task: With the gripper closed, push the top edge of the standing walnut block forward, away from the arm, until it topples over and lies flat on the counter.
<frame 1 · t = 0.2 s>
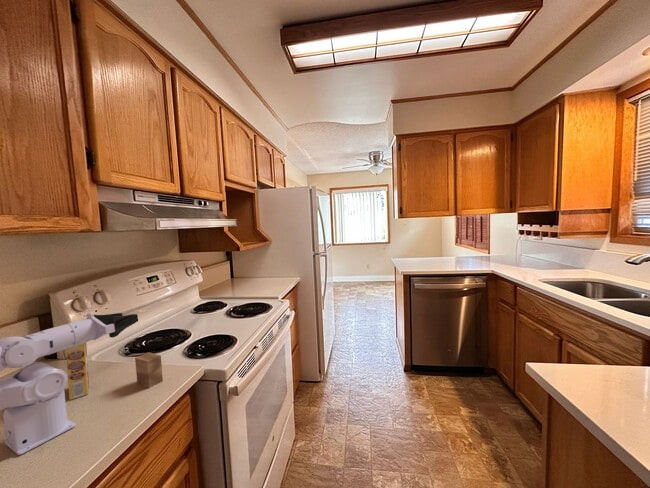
hand: (129, 317, 80), 21 cm above the table, tool horizontal, fingers open, 7 cm apart
candy box: (80, 391, 81), on the table
walnut block: (150, 382, 84), on the table
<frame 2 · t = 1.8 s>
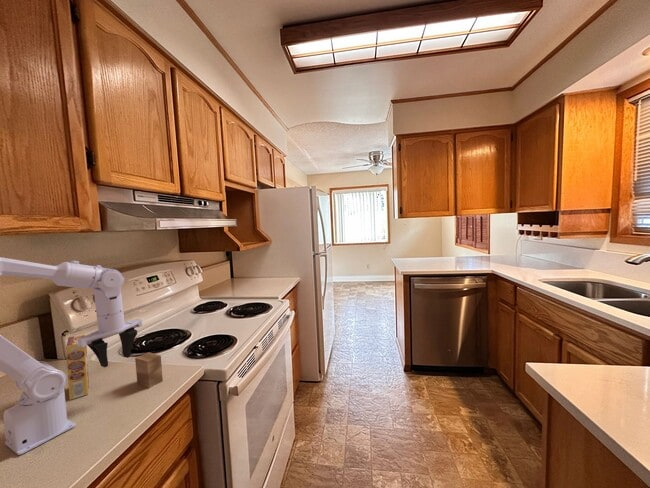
hand: (116, 361, 76), 10 cm above the table, tool pointing down, fingers open, 5 cm apart
nothing on the table moved.
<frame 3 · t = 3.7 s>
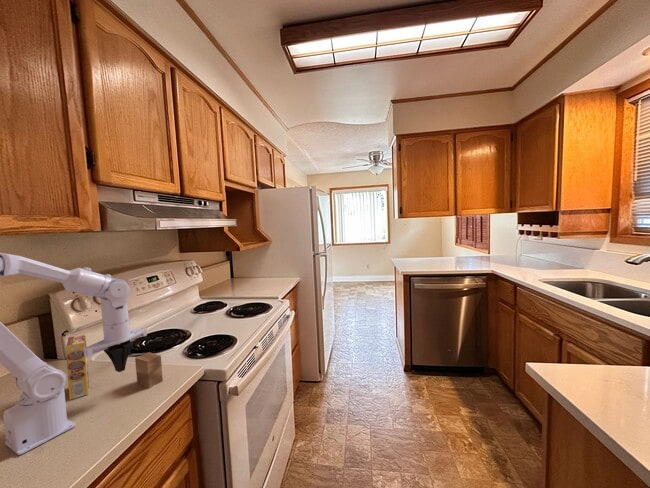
hand: (120, 370, 77), 7 cm above the table, tool pointing down, fingers closed
nothing on the table moved.
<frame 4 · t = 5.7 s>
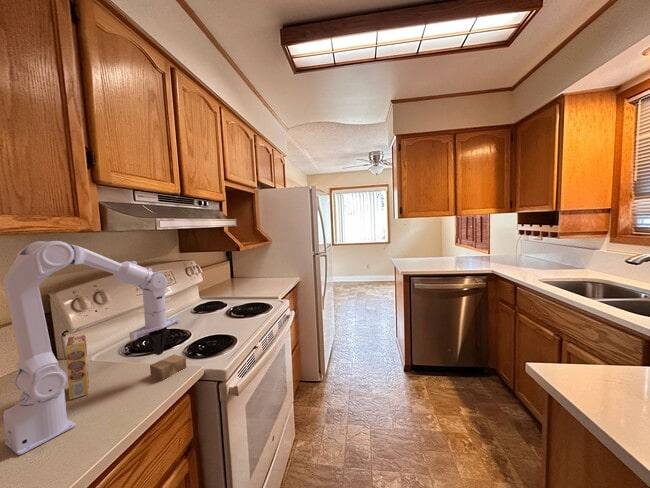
hand: (158, 353, 86), 7 cm above the table, tool pointing down, fingers closed
walnut block: (156, 373, 86), point 2 cm above the table, tilted 90°
everything else where it was.
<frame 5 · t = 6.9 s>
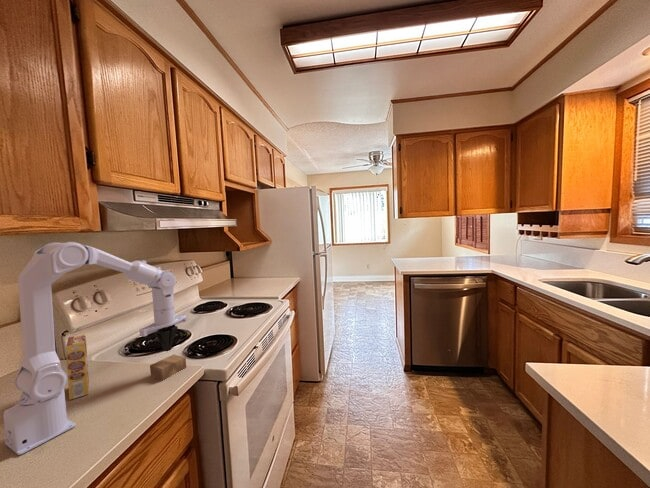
hand: (167, 350, 89), 7 cm above the table, tool pointing down, fingers closed
nothing on the table moved.
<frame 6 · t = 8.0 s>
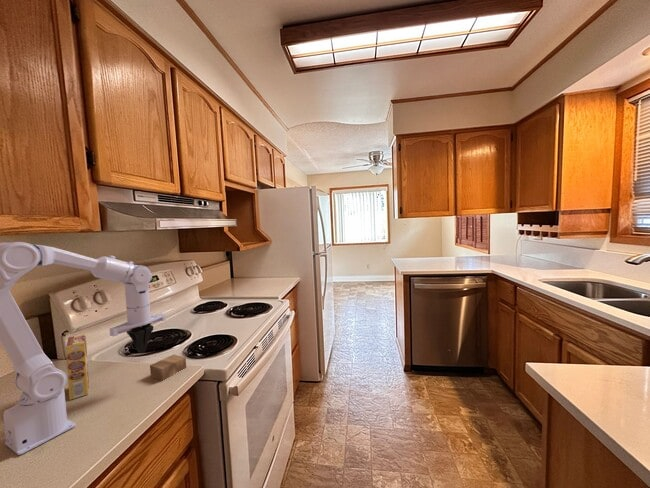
hand: (141, 351, 82), 10 cm above the table, tool pointing down, fingers closed
nothing on the table moved.
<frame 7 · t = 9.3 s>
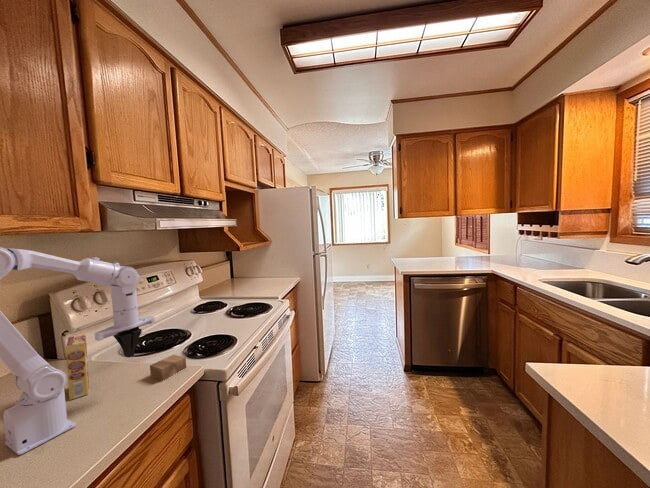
hand: (129, 355, 79), 10 cm above the table, tool pointing down, fingers closed
nothing on the table moved.
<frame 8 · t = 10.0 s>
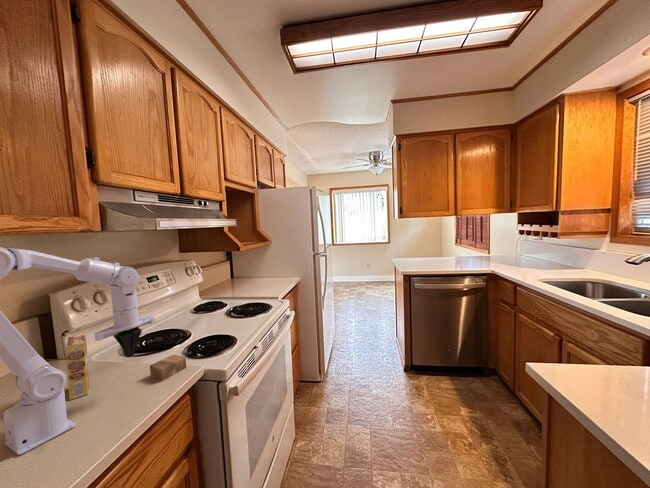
hand: (129, 355, 79), 10 cm above the table, tool pointing down, fingers closed
nothing on the table moved.
at the end: walnut block tilted 90°; walnut block inside the target area (2.0 cm from its centre), point 1.7 cm above the table; the gripper is holding nothing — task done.
